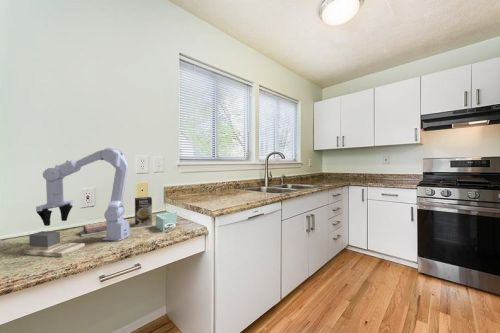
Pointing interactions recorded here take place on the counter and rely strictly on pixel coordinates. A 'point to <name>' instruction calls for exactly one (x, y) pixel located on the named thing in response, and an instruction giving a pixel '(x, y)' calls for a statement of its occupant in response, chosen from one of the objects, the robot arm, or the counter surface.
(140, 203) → the coffee box
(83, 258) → the counter surface
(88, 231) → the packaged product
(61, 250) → the pine board
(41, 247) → the block
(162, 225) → the pale turquoise carton
